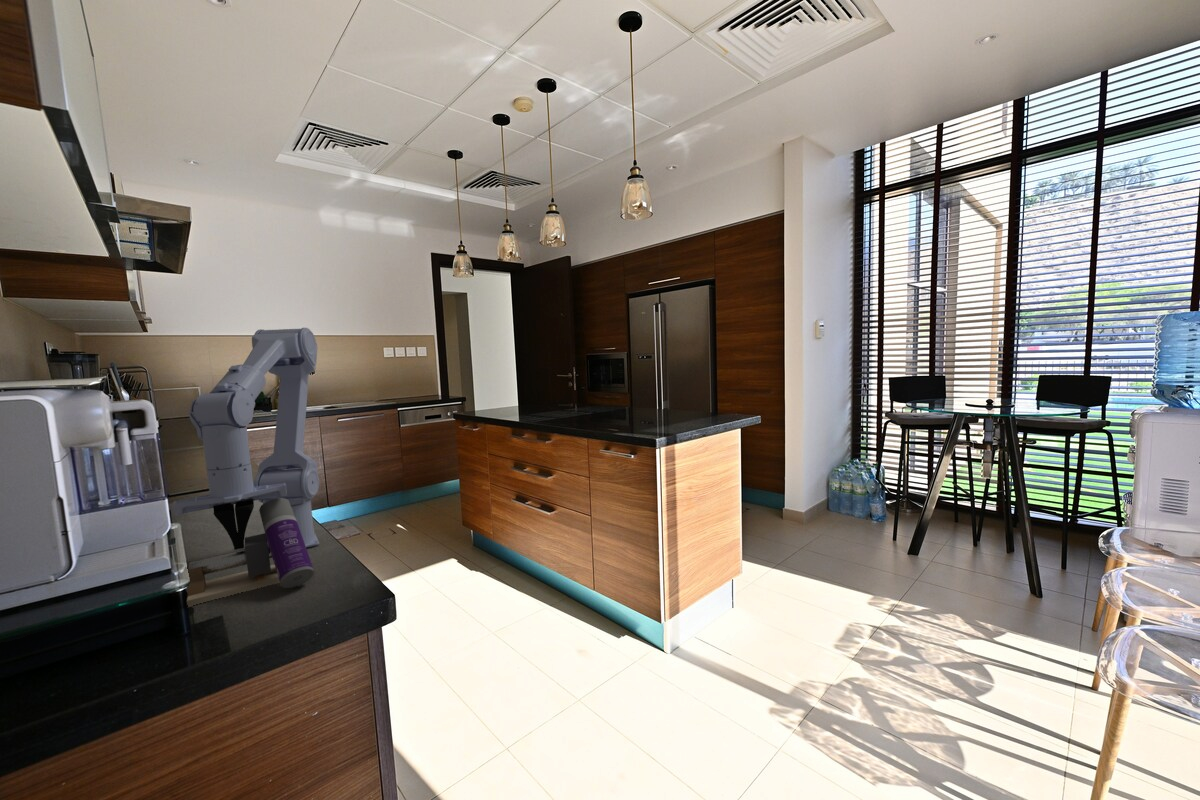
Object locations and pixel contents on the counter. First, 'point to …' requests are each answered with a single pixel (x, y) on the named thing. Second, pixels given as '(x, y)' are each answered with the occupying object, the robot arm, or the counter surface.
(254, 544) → the upright grey rectangular block
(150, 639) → the counter surface
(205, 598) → the base board
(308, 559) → the container
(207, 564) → the dark long bar
